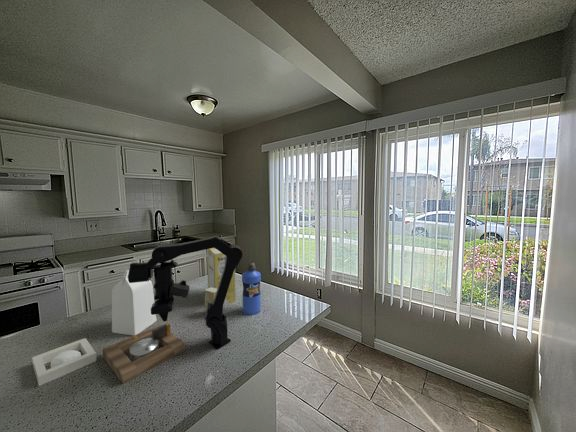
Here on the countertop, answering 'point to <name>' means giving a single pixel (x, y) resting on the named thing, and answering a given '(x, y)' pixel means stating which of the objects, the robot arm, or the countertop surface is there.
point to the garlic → (64, 357)
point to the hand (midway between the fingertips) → (165, 320)
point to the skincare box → (209, 296)
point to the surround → (133, 369)
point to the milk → (132, 306)
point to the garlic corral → (65, 368)
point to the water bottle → (251, 290)
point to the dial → (149, 342)
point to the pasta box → (219, 273)
